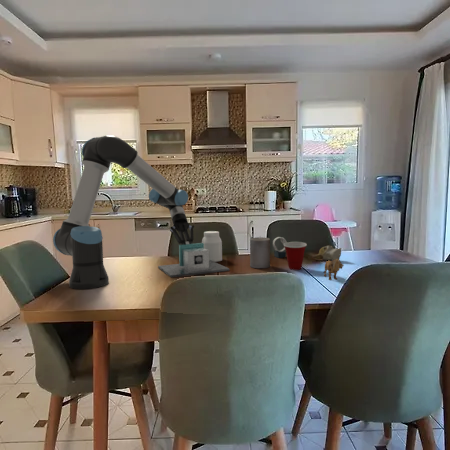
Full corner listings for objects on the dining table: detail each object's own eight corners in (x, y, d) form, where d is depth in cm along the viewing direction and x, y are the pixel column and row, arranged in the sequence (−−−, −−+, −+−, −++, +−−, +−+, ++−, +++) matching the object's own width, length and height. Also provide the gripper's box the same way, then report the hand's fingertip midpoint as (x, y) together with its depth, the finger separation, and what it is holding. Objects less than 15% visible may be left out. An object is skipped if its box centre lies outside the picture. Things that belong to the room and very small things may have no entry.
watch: (288, 257, 201) (289, 237, 199) (275, 258, 198) (275, 238, 197) (284, 255, 206) (284, 236, 205) (271, 256, 204) (271, 236, 203)
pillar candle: (258, 263, 185) (258, 234, 184) (274, 266, 178) (274, 235, 177) (245, 266, 179) (245, 236, 177) (261, 269, 172) (261, 238, 170)
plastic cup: (281, 270, 169) (281, 244, 168) (285, 265, 180) (285, 241, 178) (305, 271, 166) (305, 245, 165) (308, 266, 176) (308, 242, 175)
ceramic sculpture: (335, 246, 181) (309, 245, 192) (336, 263, 182) (309, 261, 192) (345, 243, 189) (319, 242, 199) (346, 260, 189) (320, 258, 200)
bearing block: (171, 277, 159) (170, 254, 158) (158, 267, 179) (157, 247, 178) (229, 270, 171) (229, 249, 170) (211, 262, 191) (210, 243, 190)
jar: (223, 261, 193) (222, 232, 191) (205, 262, 190) (204, 233, 189) (218, 257, 204) (217, 230, 202) (201, 258, 202) (200, 231, 200)
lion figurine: (344, 281, 148) (345, 259, 147) (332, 282, 147) (332, 260, 146) (328, 273, 162) (329, 253, 161) (317, 274, 161) (317, 253, 161)
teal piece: (187, 270, 163) (187, 248, 162) (179, 265, 174) (178, 244, 173) (212, 267, 168) (212, 246, 167) (203, 263, 179) (202, 242, 178)
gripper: (189, 221, 197) (200, 257, 184) (165, 222, 192) (175, 259, 179) (192, 212, 192) (204, 248, 179) (167, 213, 187) (178, 250, 173)
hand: (189, 253), depth 179 cm, fingers closed
